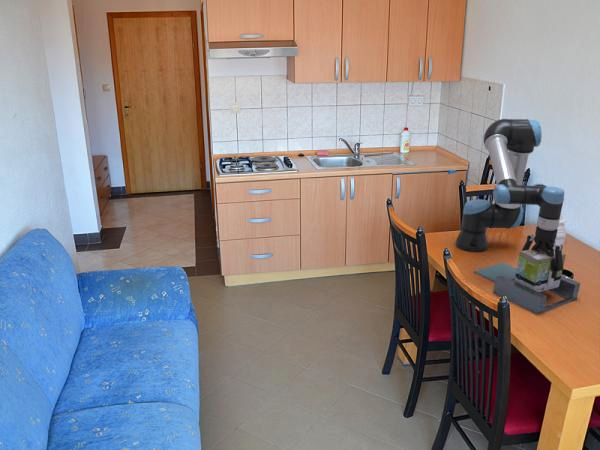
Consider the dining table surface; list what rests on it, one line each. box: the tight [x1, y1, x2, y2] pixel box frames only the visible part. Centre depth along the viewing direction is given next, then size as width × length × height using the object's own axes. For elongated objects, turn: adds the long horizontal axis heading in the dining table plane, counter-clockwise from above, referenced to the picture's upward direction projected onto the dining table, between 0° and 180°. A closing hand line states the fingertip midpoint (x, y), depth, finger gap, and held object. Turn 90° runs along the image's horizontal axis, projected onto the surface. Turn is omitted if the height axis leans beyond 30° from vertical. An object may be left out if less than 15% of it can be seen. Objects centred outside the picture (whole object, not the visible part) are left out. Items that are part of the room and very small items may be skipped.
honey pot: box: [555, 214, 567, 246], centre depth 271 cm, size 13×13×18 cm
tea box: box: [513, 248, 567, 293], centre depth 211 cm, size 15×10×15 cm
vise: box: [492, 274, 581, 315], centre depth 215 cm, size 20×32×7 cm, turn 122°
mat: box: [473, 261, 517, 283], centre depth 234 cm, size 14×19×1 cm
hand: (537, 279), depth 212 cm, fingers closed on tea box, 10 cm apart
